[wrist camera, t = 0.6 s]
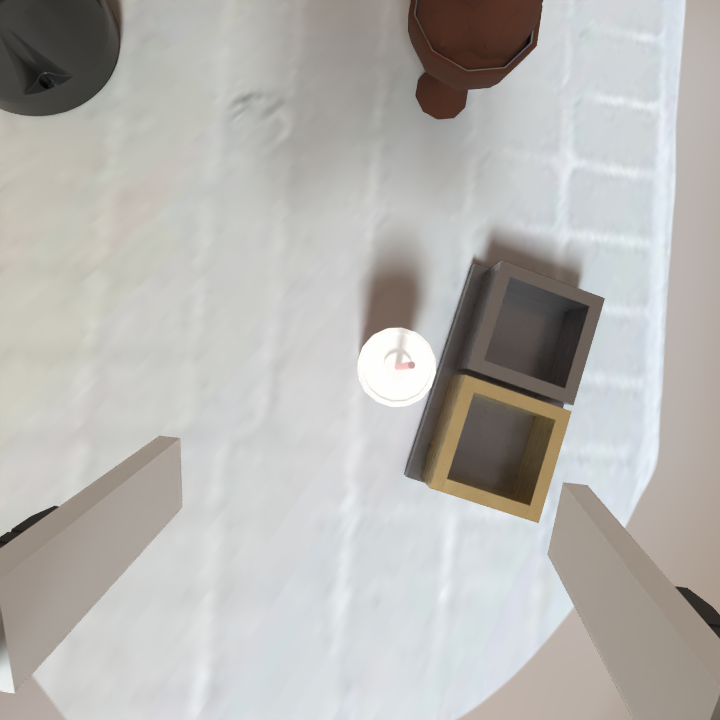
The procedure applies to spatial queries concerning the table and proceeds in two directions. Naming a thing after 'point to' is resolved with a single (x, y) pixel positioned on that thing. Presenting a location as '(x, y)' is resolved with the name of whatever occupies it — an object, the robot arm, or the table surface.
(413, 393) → the beverage cup
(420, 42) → the ice cream bowl
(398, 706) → the table surface
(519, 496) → the square compartment tray
